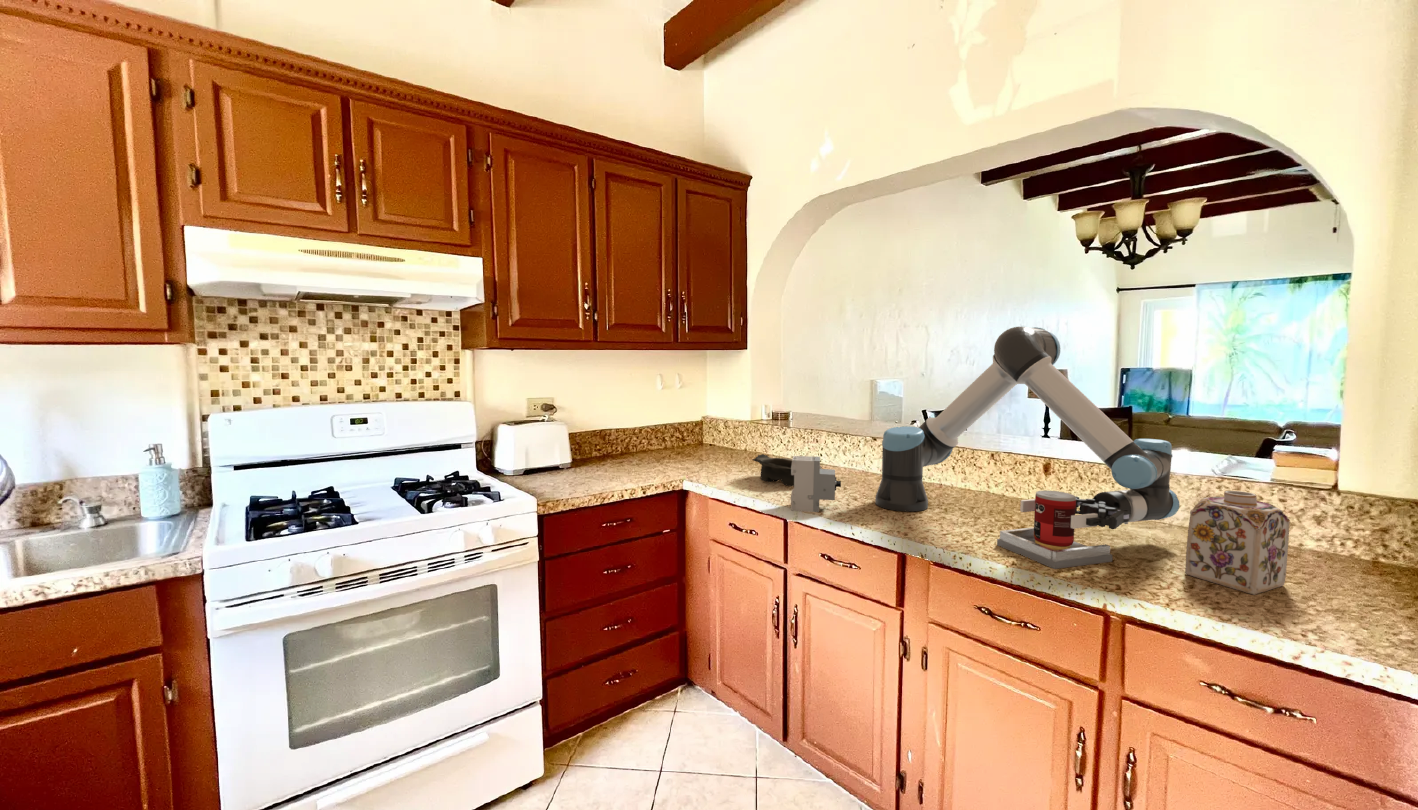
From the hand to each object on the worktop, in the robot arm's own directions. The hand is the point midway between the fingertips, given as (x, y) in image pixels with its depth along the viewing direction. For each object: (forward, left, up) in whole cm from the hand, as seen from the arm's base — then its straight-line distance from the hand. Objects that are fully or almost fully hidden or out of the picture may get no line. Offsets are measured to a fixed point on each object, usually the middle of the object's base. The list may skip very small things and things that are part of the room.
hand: (1045, 513), depth 129 cm
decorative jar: (+32, -8, -10) cm, 34 cm away
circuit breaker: (-53, +27, -10) cm, 60 cm away
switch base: (+2, +1, -9) cm, 10 cm away
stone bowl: (-65, +63, -10) cm, 91 cm away
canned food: (+2, +1, -7) cm, 7 cm away
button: (+2, +1, -9) cm, 9 cm away
